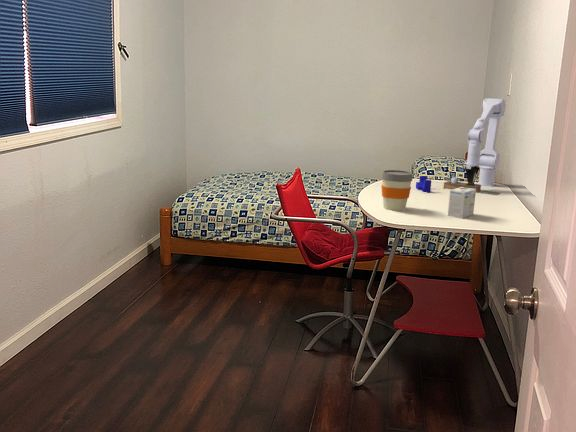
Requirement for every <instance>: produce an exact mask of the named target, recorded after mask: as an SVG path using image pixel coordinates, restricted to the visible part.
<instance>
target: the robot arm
mask: <svg viewBox="0 0 576 432" xmlns="http://www.w3.org/2000/svg"><path fill="white" fill-rule="evenodd" d="M506 105H507V103H506V100H505V99H504V98H491V97H490V98H488V97H485V98H484V99H483V102H482V113H481V116H480V118H477V119H476V122H475V124H474V125H473V127H472V128H471V129H469V131H468V133H467V145H468V149H467V150H468V151H467V159H466V161H465V162H464V163H463V164H464V165H466V167H465V168H464V171H465V173H466V179H467V180H466V181H467V183H472V182H473V179H474V175H475V173H476V175H475V179H476V177H477V175H478V174H479V175H478V182H477V183H476V184H479V185H481V187H489V188H492V187H494V186H496V183H495V178H496V169H497V168H498V167H499V165H500V153H499V152H498V151H497V150H496V145H497V143H496V142H497V139H498V132H499V131H498V130H499V126H500V120H501V117H504V115H505V112H506ZM486 129H487V133H486ZM485 135H486V140H485V145H484V146H485V147H484V149H482V144H483V141H484V139H485ZM481 149H482V150H481ZM478 172H479V173H478Z"/></svg>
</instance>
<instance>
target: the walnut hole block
mask: <svg viewBox="0 0 576 432" xmlns="http://www.w3.org/2000/svg"><path fill="white" fill-rule="evenodd" d="M451 181H452V180H447V181H445V182H443V190H453V189H456V188H459V187H466V188H473V189H476V193H478V192H480V191H481V189H482V188H481V187H482V186H481V185H479V184H477V183H474V186H470V185H468V182H461V181H458V184H454V183H451Z"/></svg>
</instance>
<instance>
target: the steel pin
mask: <svg viewBox="0 0 576 432" xmlns="http://www.w3.org/2000/svg"><path fill="white" fill-rule="evenodd" d="M475 175H476V173H475ZM475 175H474V179H473V182H472V183H468V182H467V183H468V185H470V186H474V184H475V180H476V178H475ZM476 176H477V175H476Z"/></svg>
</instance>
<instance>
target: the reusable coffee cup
mask: <svg viewBox="0 0 576 432" xmlns="http://www.w3.org/2000/svg"><path fill="white" fill-rule="evenodd" d="M381 181H382V183H381V196H382V199H383V200H382V202H383V205H382V206H383V209H385V210H389V211H395V212H398V211H399V212H400V211H405V210H406V207H407V203H408V202H407V201H408V199H409V198H410V194H411V190H412V187H411V185H412V181H413V173H412V172H411V171H406V170H400V169H387V170H383V171H382V173H381Z"/></svg>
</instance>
